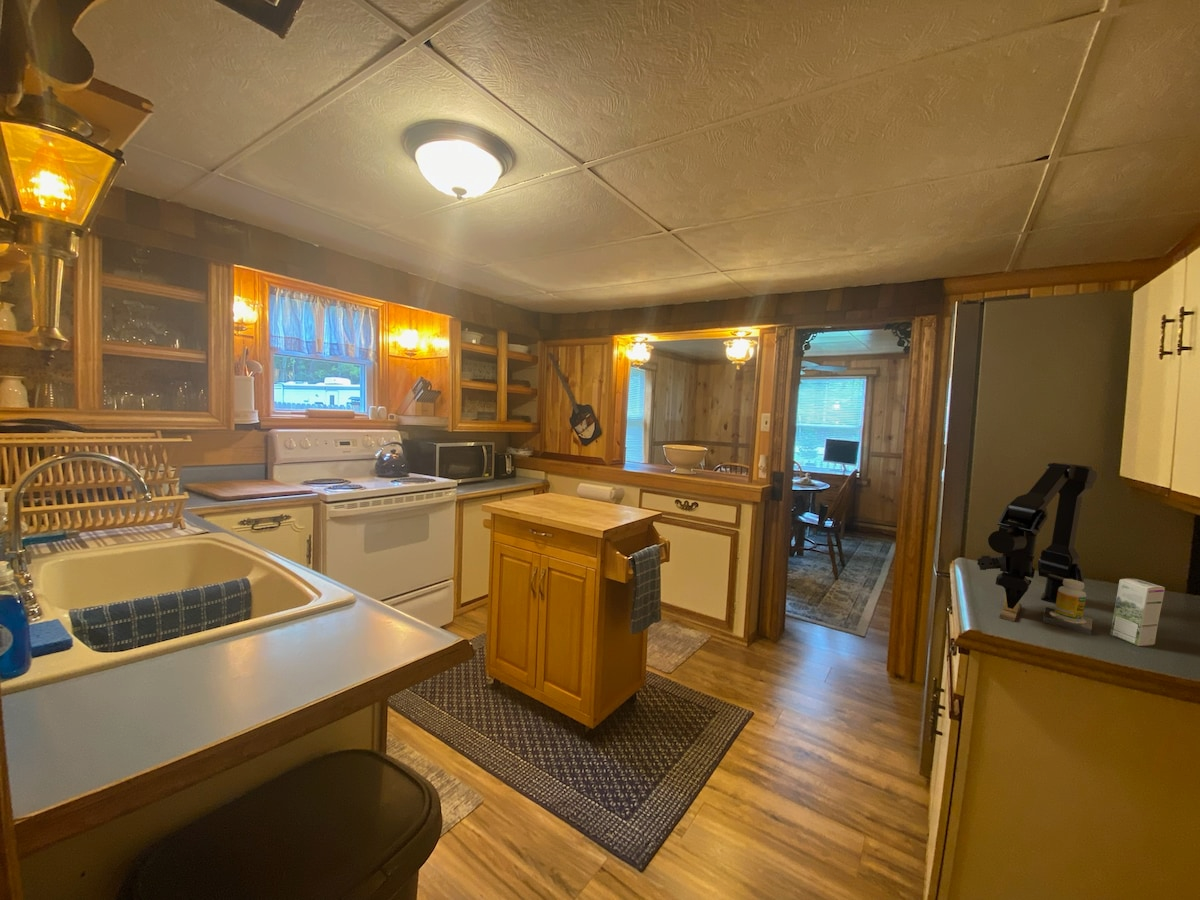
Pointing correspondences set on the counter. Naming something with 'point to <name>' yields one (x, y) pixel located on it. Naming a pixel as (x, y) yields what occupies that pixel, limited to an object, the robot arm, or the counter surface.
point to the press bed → (1067, 622)
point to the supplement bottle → (1070, 600)
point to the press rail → (1009, 614)
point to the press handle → (1010, 608)
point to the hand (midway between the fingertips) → (1011, 606)
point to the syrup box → (1137, 611)
